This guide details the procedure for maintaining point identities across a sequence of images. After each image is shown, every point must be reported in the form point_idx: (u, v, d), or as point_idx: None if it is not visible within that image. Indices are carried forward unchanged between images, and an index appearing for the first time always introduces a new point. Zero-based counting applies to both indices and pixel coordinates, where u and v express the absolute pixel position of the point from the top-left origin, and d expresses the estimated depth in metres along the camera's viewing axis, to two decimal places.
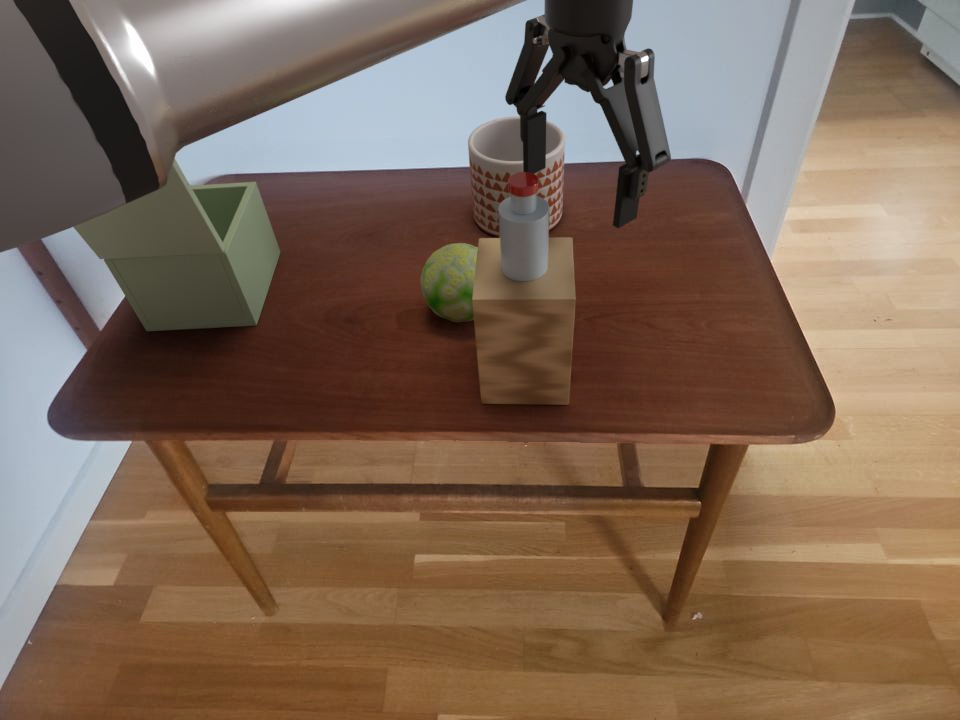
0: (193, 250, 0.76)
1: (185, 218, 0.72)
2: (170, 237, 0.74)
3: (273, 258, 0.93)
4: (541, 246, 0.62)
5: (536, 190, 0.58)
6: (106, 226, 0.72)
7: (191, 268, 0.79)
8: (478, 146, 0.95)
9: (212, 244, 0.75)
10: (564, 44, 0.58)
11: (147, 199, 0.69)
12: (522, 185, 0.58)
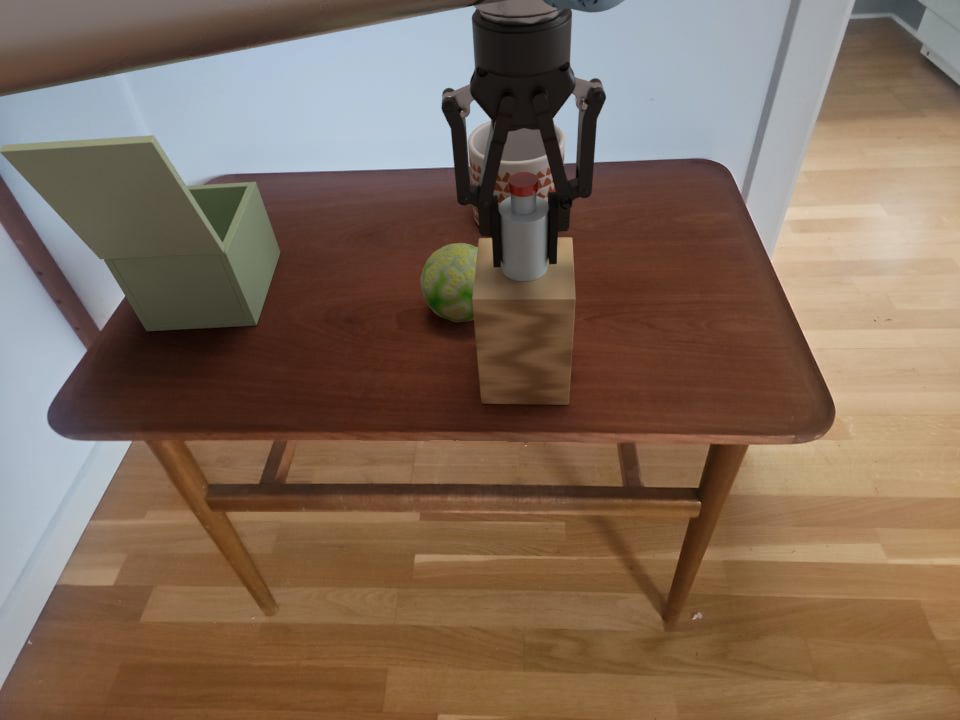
0: (193, 251, 0.76)
1: (184, 221, 0.71)
2: (169, 239, 0.74)
3: (273, 258, 0.93)
4: (541, 246, 0.62)
5: (536, 190, 0.58)
6: (106, 229, 0.72)
7: (191, 268, 0.79)
8: (478, 146, 0.95)
9: (212, 245, 0.75)
10: (503, 91, 0.51)
11: (146, 204, 0.69)
12: (522, 185, 0.58)
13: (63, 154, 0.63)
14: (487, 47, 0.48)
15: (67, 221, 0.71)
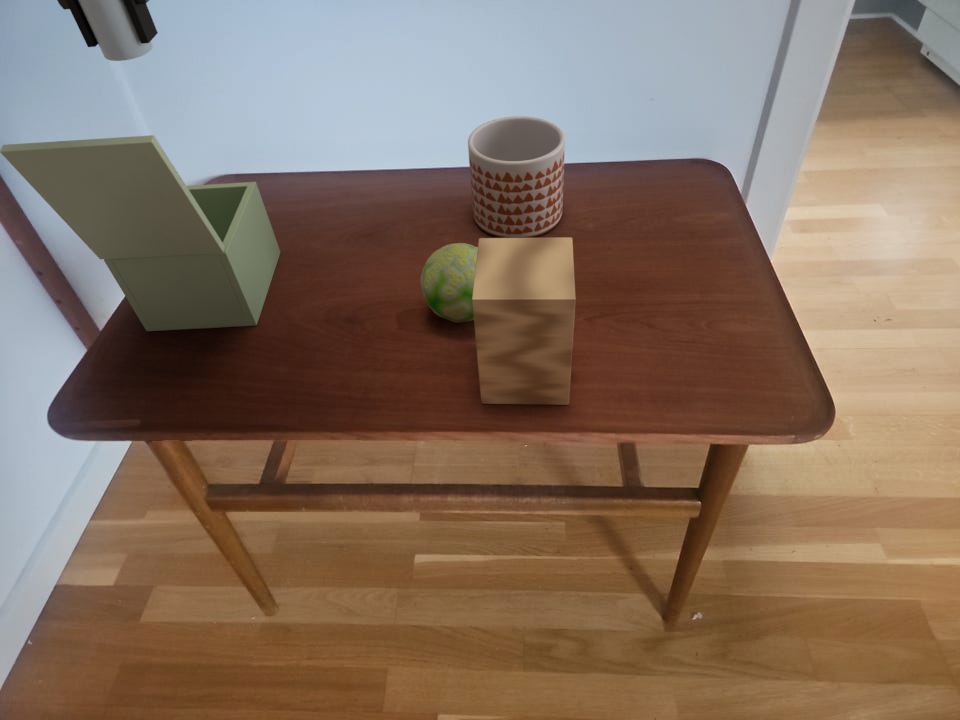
0: (193, 251, 0.76)
1: (184, 221, 0.71)
2: (169, 239, 0.74)
3: (273, 258, 0.93)
4: (120, 17, 0.63)
5: None
6: (106, 229, 0.72)
7: (191, 268, 0.79)
8: (478, 146, 0.95)
9: (212, 245, 0.75)
10: None
11: (146, 204, 0.69)
12: None
13: (63, 154, 0.63)
14: None
15: (67, 221, 0.71)
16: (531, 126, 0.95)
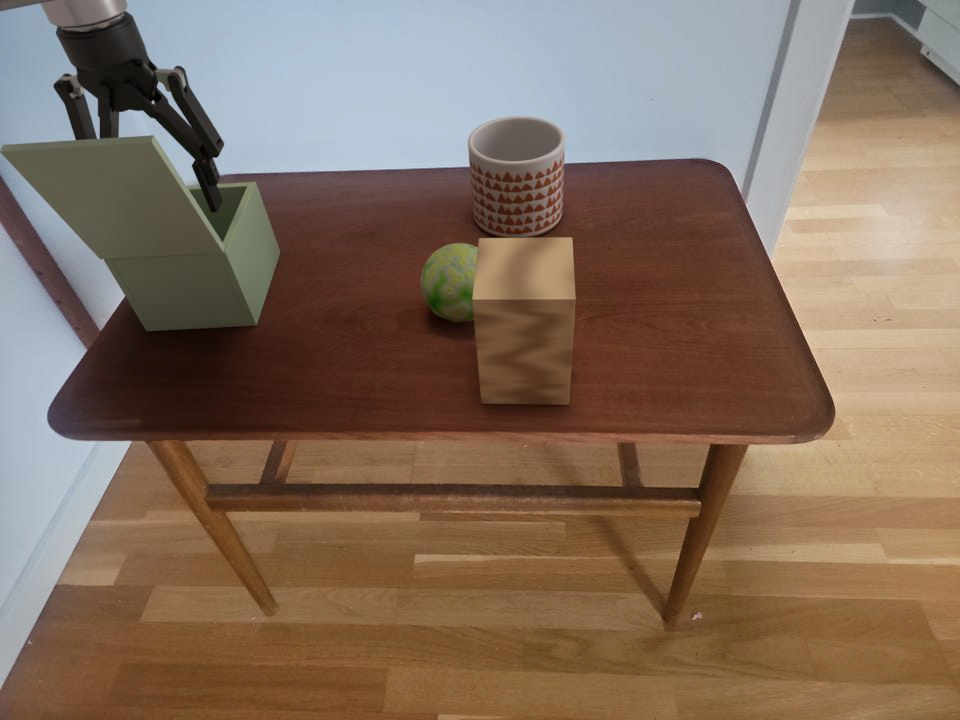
0: (193, 251, 0.76)
1: (184, 221, 0.71)
2: (169, 239, 0.74)
3: (273, 258, 0.93)
4: None
5: None
6: (106, 229, 0.72)
7: (191, 268, 0.79)
8: (478, 146, 0.95)
9: (212, 245, 0.75)
10: (100, 81, 0.69)
11: (146, 204, 0.69)
12: None
13: (63, 154, 0.63)
14: (64, 49, 0.65)
15: (67, 221, 0.71)
16: (531, 126, 0.95)
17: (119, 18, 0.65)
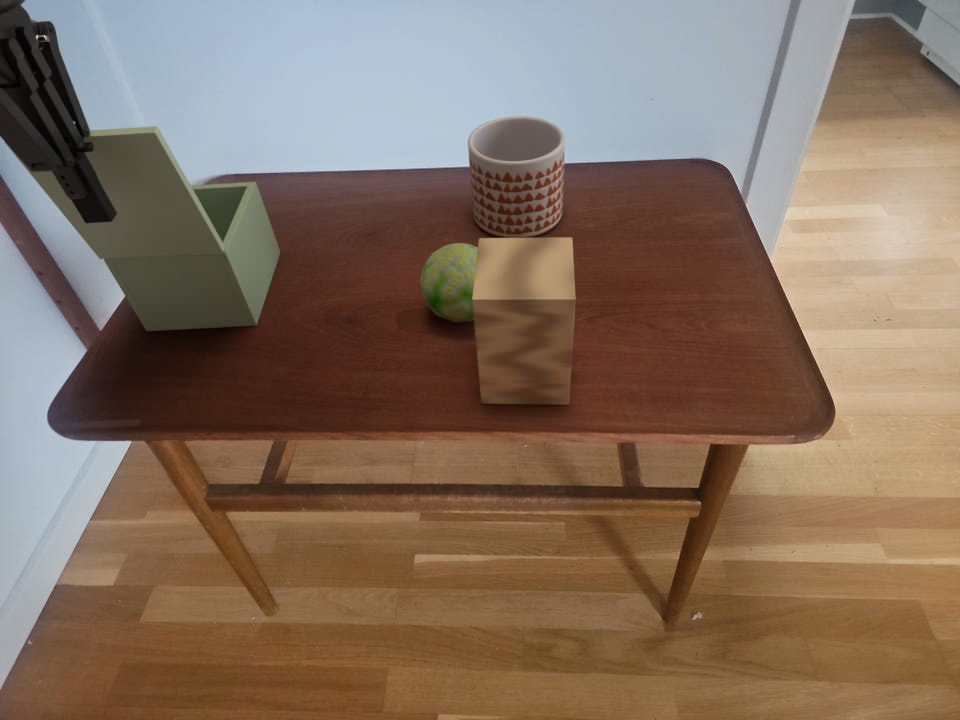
0: (193, 250, 0.76)
1: (185, 218, 0.72)
2: (170, 237, 0.74)
3: (273, 258, 0.93)
4: None
5: None
6: (107, 226, 0.72)
7: (191, 268, 0.79)
8: (478, 146, 0.95)
9: (212, 244, 0.75)
10: None
11: (147, 199, 0.69)
12: None
13: None
14: None
15: (68, 217, 0.71)
16: (531, 126, 0.95)
17: None
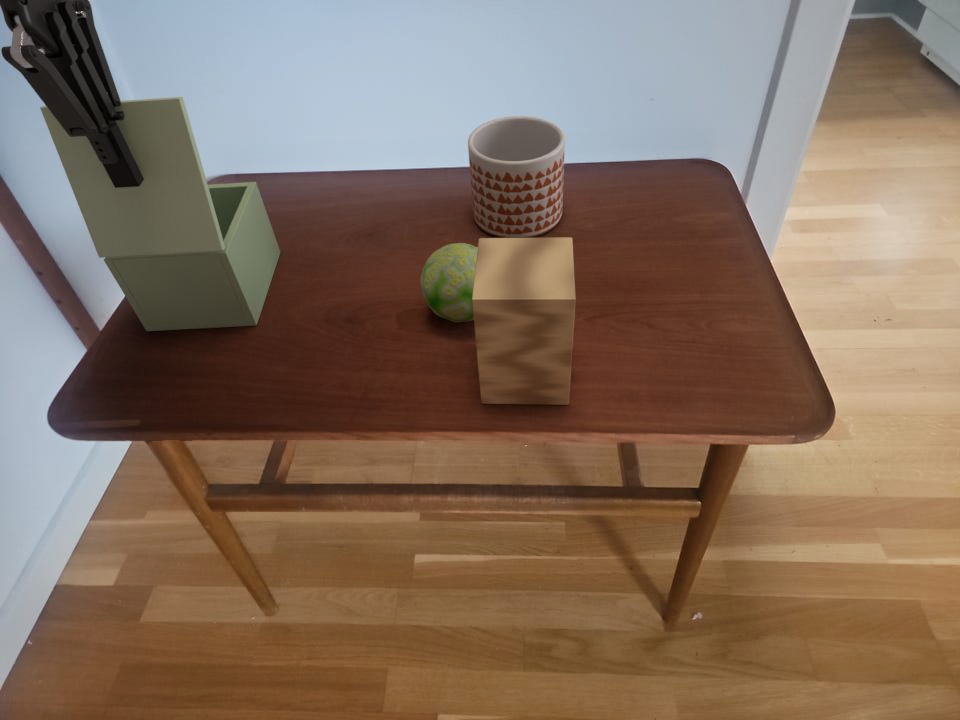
0: (193, 248, 0.76)
1: (191, 204, 0.73)
2: (173, 229, 0.75)
3: (273, 258, 0.93)
4: None
5: None
6: (114, 213, 0.74)
7: (191, 268, 0.79)
8: (478, 146, 0.95)
9: (213, 239, 0.76)
10: None
11: (159, 179, 0.72)
12: None
13: None
14: None
15: (79, 201, 0.73)
16: (531, 126, 0.95)
17: None
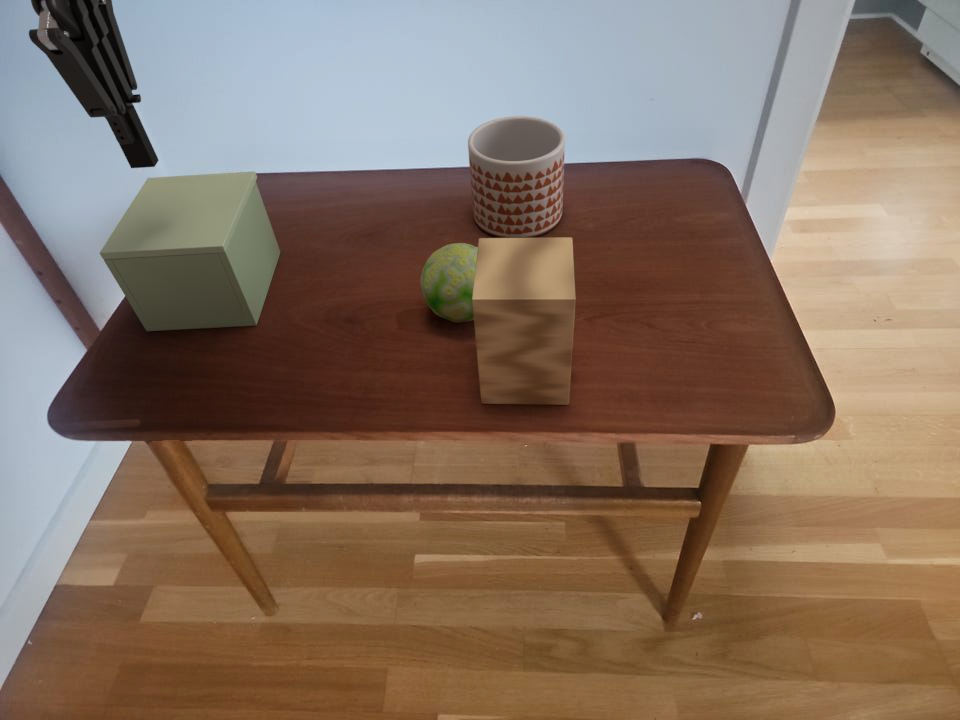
0: (196, 244, 0.77)
1: (219, 218, 0.80)
2: (188, 233, 0.79)
3: (273, 258, 0.93)
4: None
5: None
6: (145, 225, 0.80)
7: (191, 268, 0.79)
8: (478, 146, 0.95)
9: (219, 239, 0.77)
10: None
11: (203, 206, 0.83)
12: None
13: (187, 178, 0.88)
14: None
15: (123, 219, 0.82)
16: (531, 126, 0.95)
17: None
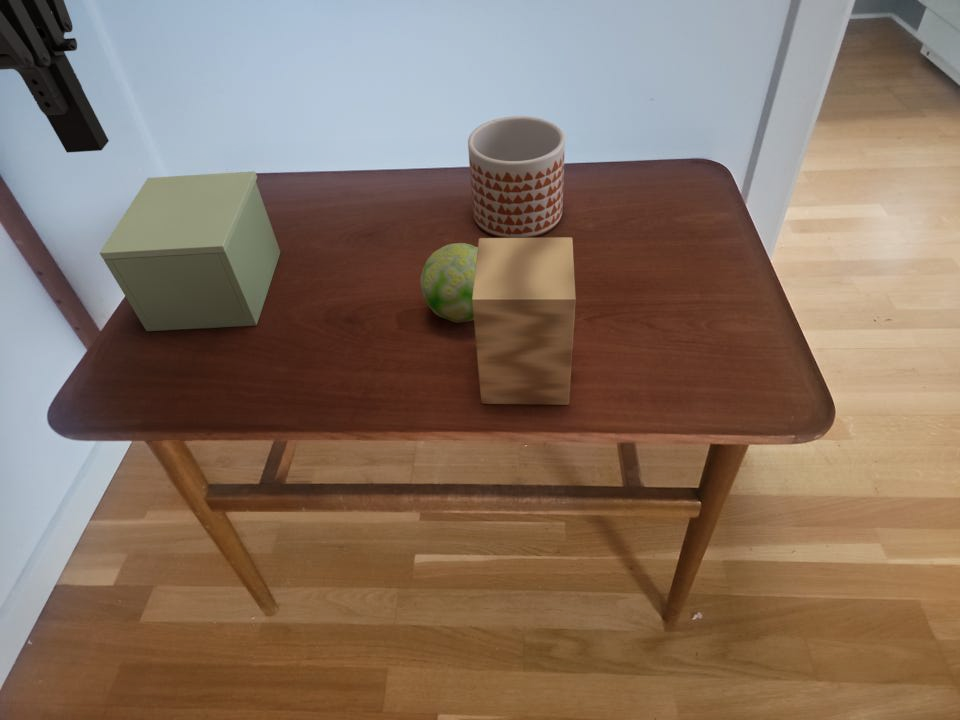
0: (196, 244, 0.77)
1: (219, 218, 0.80)
2: (188, 233, 0.79)
3: (273, 258, 0.93)
4: None
5: None
6: (145, 225, 0.80)
7: (191, 268, 0.79)
8: (478, 146, 0.95)
9: (219, 239, 0.77)
10: None
11: (203, 206, 0.83)
12: None
13: (187, 178, 0.88)
14: None
15: (123, 219, 0.82)
16: (531, 126, 0.95)
17: None
